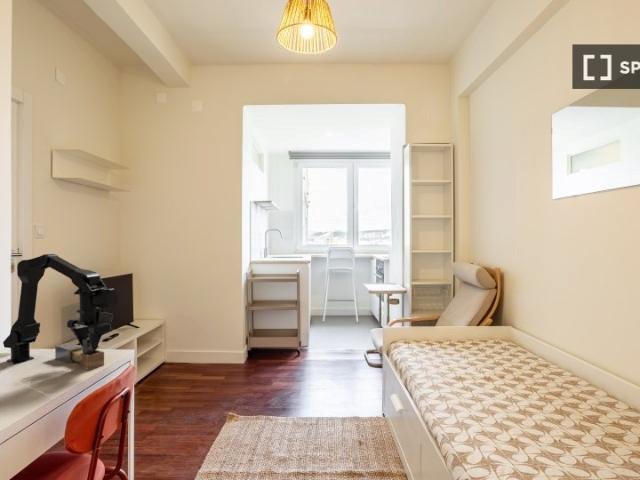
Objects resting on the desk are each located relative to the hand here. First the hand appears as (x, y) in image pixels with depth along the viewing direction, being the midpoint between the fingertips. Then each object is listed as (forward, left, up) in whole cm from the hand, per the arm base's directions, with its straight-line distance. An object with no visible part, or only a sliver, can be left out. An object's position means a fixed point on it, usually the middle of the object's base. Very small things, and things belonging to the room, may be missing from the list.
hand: (89, 347), depth 136 cm
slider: (-4, 0, -6) cm, 7 cm away
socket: (+2, 0, -6) cm, 7 cm away
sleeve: (-14, 0, -6) cm, 15 cm away
